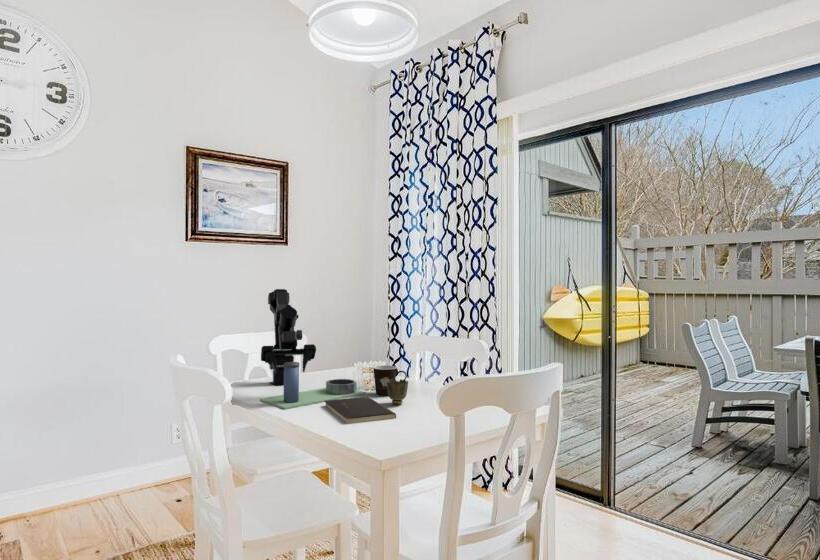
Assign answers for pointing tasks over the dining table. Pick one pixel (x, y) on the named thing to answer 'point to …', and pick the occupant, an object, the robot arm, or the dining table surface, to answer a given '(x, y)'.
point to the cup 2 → (397, 390)
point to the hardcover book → (359, 410)
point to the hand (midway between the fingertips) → (290, 372)
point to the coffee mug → (384, 378)
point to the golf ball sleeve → (291, 382)
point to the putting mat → (307, 398)
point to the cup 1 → (341, 386)
